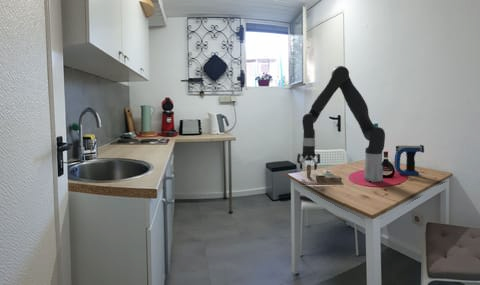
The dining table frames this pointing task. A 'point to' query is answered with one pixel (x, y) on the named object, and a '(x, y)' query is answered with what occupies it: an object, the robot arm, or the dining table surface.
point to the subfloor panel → (315, 175)
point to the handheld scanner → (410, 158)
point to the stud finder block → (327, 173)
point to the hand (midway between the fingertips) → (308, 169)
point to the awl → (308, 170)
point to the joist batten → (328, 179)
